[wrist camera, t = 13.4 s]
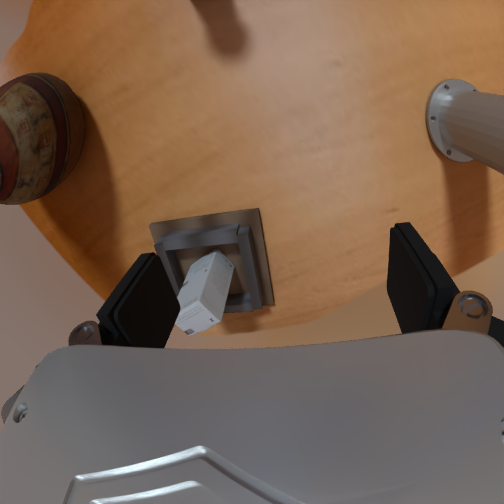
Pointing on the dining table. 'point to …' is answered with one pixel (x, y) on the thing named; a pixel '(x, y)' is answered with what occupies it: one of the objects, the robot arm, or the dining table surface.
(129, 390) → the robot arm
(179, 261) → the socket stand
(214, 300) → the skincare box
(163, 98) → the dining table surface
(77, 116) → the painted clay vase
